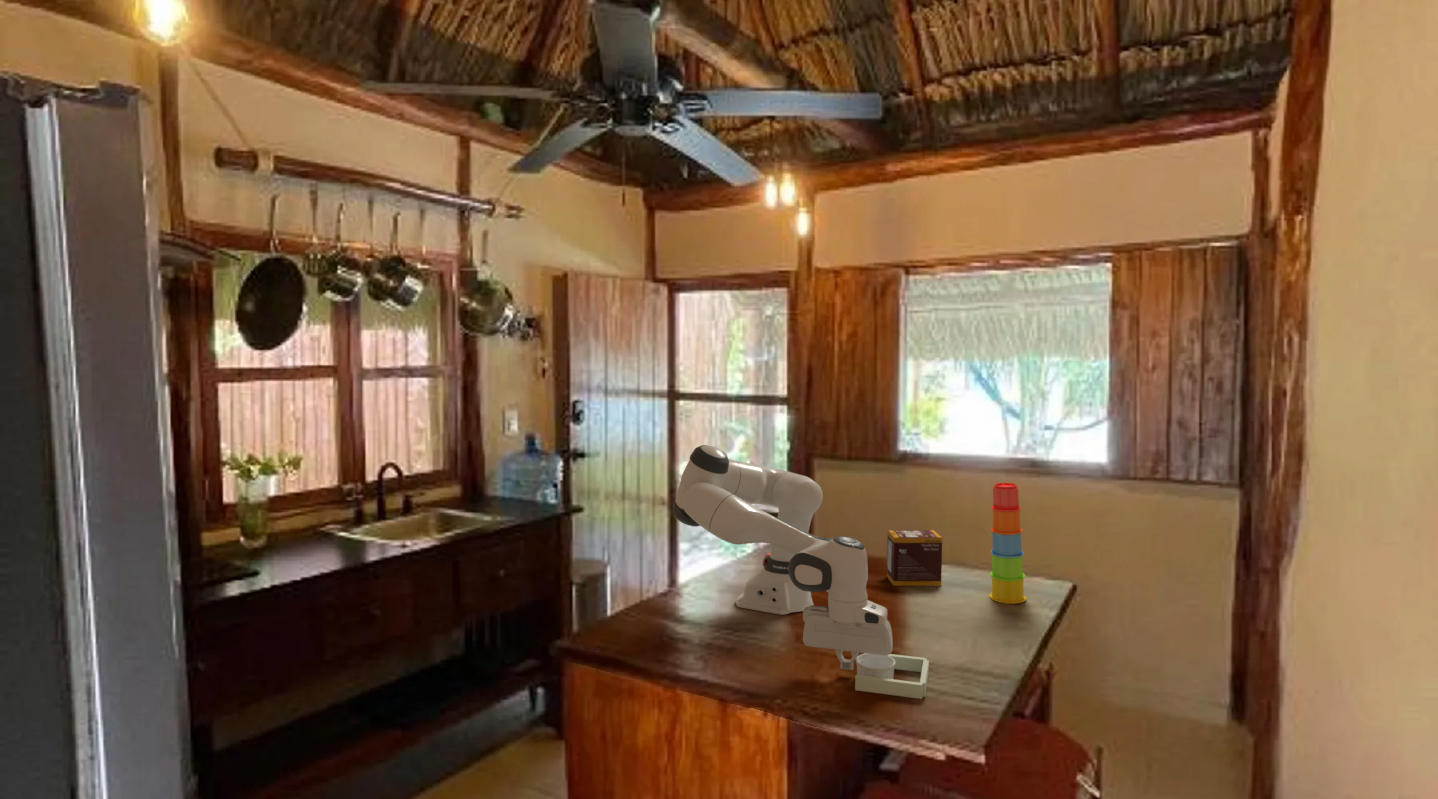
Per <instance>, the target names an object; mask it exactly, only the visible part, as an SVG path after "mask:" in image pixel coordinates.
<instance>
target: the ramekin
mask: <svg viewBox="0 0 1438 799" xmlns="http://www.w3.org/2000/svg"><path fill="white" fill-rule="evenodd" d="M854 662H855V664H856V673H857V674H856V675H863V676H871V677H879V678H887V679H894V675H895V669H894V666H895V660H894V659H893V658H892V657H890V656H884V655H876V654H868V653H865V654H864V653H861V654H858V656H857V658H856V659H855V661H854Z"/></svg>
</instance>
